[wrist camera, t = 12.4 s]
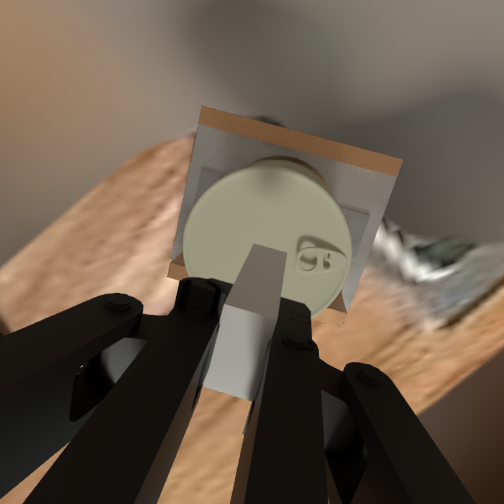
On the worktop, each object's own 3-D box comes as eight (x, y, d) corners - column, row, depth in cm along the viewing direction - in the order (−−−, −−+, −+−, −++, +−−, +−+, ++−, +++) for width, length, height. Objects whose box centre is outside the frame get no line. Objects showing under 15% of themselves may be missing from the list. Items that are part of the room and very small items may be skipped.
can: (329, 272, 33) (343, 344, 21) (220, 262, 34) (178, 326, 22) (342, 159, 30) (366, 171, 19) (224, 152, 31) (178, 159, 20)
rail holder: (174, 255, 35) (154, 274, 31) (205, 107, 32) (188, 101, 27) (347, 305, 35) (354, 331, 30) (399, 159, 31) (417, 162, 26)
